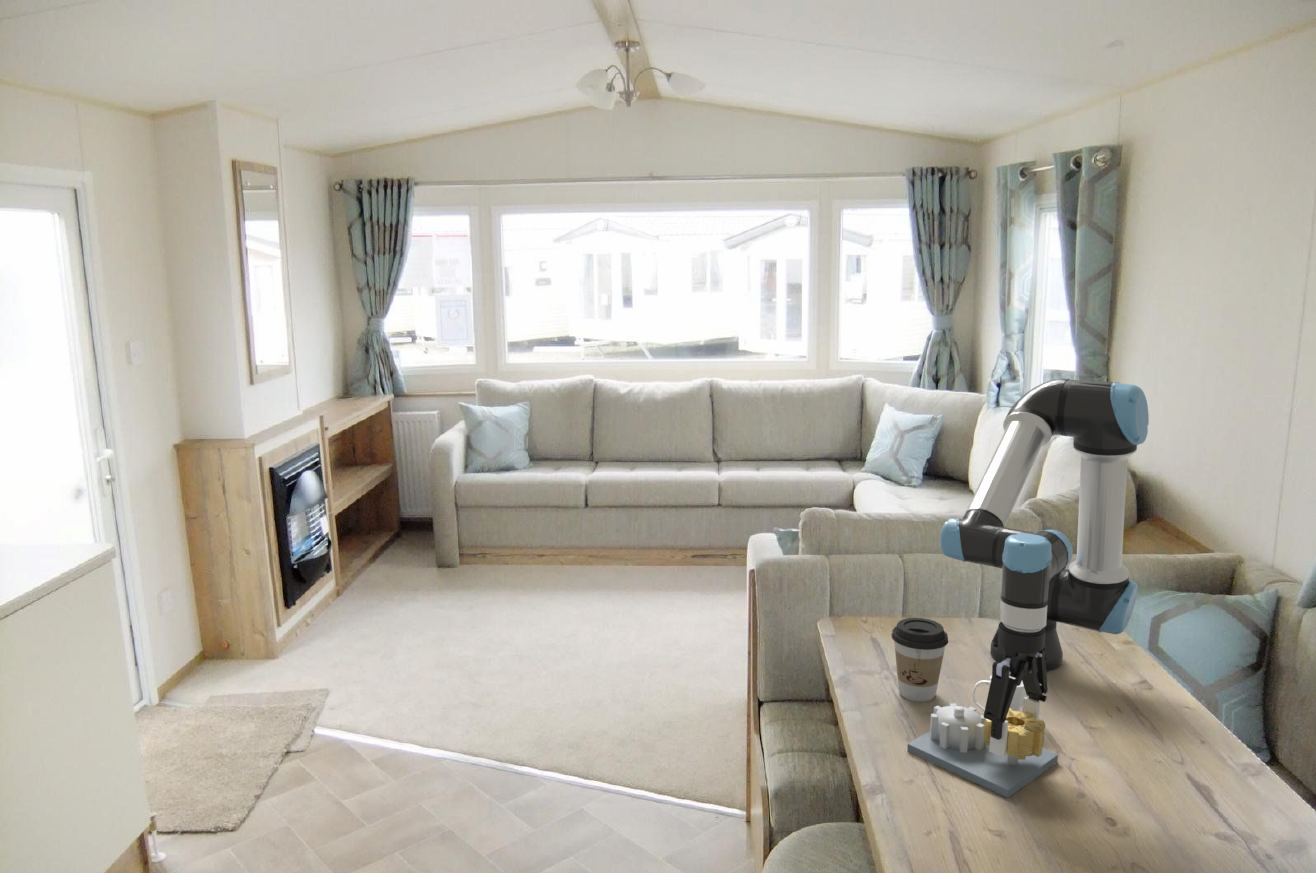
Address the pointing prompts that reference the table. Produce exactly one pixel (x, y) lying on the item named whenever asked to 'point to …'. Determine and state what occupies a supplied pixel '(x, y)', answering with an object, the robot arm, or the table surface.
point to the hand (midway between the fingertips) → (1013, 743)
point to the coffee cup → (919, 657)
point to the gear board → (975, 752)
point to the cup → (1017, 696)
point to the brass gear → (1021, 734)
